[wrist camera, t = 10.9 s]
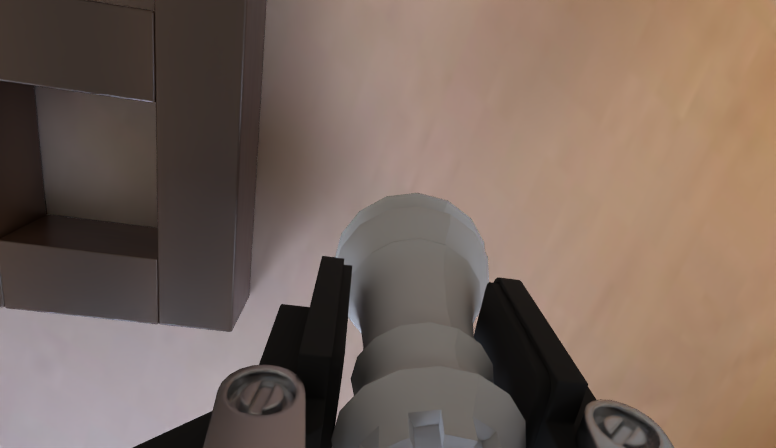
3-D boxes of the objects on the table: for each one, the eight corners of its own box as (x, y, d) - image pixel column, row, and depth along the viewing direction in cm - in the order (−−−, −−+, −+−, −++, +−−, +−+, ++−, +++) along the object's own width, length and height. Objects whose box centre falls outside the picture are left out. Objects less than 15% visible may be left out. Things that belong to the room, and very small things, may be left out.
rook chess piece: (376, 161, 13) (363, 328, 6) (511, 227, 14) (650, 447, 7) (313, 285, 15) (240, 543, 7) (438, 339, 16) (485, 619, 8)
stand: (-16, 266, 17) (-76, 300, 15) (-104, -340, 12) (-221, -436, 10) (249, 296, 18) (231, 333, 16) (281, -258, 13) (261, -330, 10)
